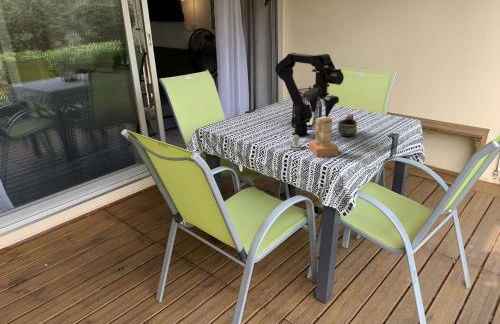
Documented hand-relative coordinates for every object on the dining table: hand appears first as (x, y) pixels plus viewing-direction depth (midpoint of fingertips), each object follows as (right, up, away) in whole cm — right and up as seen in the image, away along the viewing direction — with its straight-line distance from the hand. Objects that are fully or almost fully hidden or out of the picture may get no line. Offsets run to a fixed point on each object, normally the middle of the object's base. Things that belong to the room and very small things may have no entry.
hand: (320, 114), depth 177 cm
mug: (+16, -9, +12) cm, 22 cm away
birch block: (-1, -15, -11) cm, 18 cm away
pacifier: (-12, -17, -4) cm, 21 cm away
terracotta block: (0, -19, -9) cm, 21 cm away
